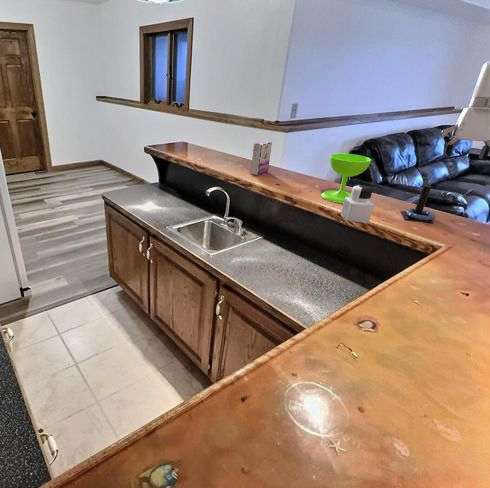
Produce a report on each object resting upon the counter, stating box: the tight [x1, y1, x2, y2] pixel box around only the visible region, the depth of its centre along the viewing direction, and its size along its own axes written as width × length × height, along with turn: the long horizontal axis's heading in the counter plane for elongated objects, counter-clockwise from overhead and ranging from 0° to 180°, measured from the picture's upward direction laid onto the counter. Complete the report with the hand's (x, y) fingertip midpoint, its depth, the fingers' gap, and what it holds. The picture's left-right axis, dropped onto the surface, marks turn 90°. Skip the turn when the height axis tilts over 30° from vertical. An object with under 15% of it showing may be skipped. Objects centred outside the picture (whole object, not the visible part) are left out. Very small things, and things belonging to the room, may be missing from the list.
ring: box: [405, 208, 437, 221], centre depth 133 cm, size 9×9×2 cm
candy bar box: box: [250, 140, 273, 176], centre depth 188 cm, size 11×5×16 cm, turn 136°
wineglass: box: [320, 153, 372, 205], centre depth 152 cm, size 16×16×18 cm
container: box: [340, 184, 375, 224], centre depth 130 cm, size 8×8×13 cm
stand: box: [400, 184, 434, 225], centre depth 131 cm, size 9×9×14 cm
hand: (463, 157), depth 119 cm, fingers open, 9 cm apart
